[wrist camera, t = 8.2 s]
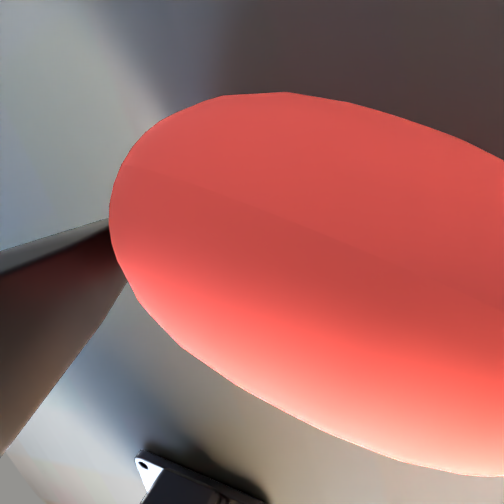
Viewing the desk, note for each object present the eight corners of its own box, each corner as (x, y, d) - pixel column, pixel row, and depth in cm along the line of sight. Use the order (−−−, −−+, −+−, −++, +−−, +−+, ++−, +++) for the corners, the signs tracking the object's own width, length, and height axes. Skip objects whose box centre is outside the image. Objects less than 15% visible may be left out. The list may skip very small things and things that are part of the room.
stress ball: (331, -85, 9) (-13, 53, 6) (909, 275, 5) (565, 814, 3) (299, 128, 13) (89, 249, 11) (595, 396, 10) (370, 647, 8)
